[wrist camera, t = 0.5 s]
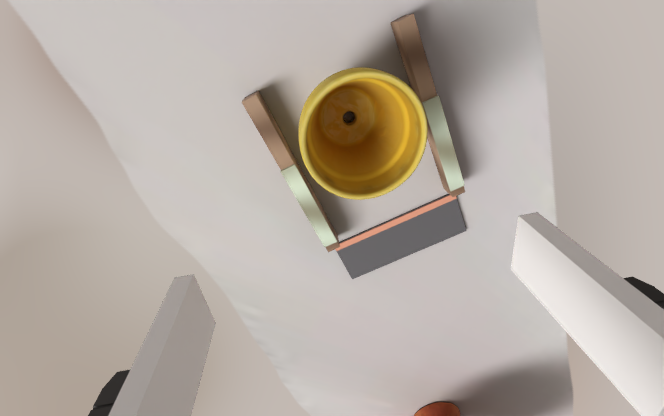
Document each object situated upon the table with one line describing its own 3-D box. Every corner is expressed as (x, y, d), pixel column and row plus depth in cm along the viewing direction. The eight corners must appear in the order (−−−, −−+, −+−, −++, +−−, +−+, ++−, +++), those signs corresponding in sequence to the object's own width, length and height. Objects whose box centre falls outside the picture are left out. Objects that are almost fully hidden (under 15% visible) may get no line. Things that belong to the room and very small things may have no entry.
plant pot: (415, 95, 35) (456, 115, 26) (362, 177, 38) (382, 219, 30) (329, 38, 31) (342, 40, 23) (280, 134, 35) (275, 167, 26)
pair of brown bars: (244, 97, 33) (240, 102, 31) (405, 14, 31) (415, 13, 29) (326, 240, 42) (328, 253, 39) (456, 182, 40) (466, 192, 37)
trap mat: (333, 244, 42) (333, 246, 42) (453, 191, 40) (455, 193, 40) (352, 277, 45) (352, 279, 44) (465, 229, 43) (466, 230, 43)
